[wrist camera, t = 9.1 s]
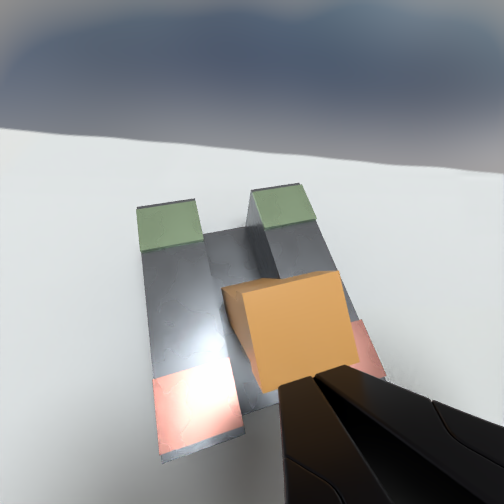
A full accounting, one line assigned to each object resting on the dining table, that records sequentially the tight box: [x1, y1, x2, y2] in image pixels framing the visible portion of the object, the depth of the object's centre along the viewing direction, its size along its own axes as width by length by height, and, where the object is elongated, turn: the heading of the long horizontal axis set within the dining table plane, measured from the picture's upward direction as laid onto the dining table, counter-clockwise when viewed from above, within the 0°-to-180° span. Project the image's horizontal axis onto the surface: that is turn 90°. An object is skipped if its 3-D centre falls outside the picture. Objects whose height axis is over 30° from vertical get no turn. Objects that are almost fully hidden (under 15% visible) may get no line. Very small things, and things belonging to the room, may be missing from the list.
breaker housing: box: [136, 183, 386, 464], centre depth 14 cm, size 11×10×5 cm
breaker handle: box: [221, 271, 360, 394], centre depth 10 cm, size 2×2×8 cm
